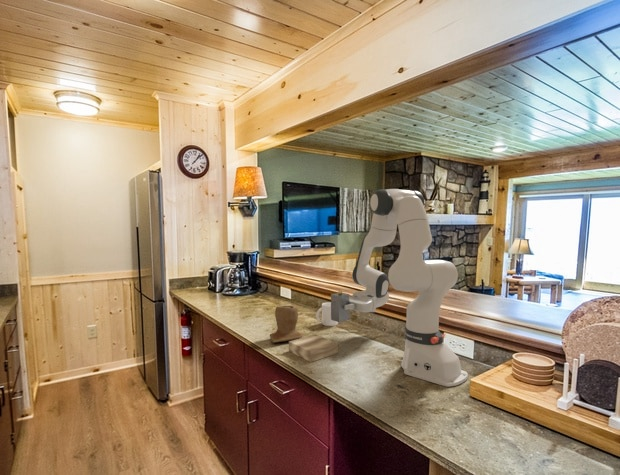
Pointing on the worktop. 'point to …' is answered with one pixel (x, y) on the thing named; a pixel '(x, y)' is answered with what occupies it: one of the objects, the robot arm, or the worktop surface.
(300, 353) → the maple stand
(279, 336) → the brown piece
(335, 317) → the block
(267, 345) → the worktop surface
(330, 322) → the mug
